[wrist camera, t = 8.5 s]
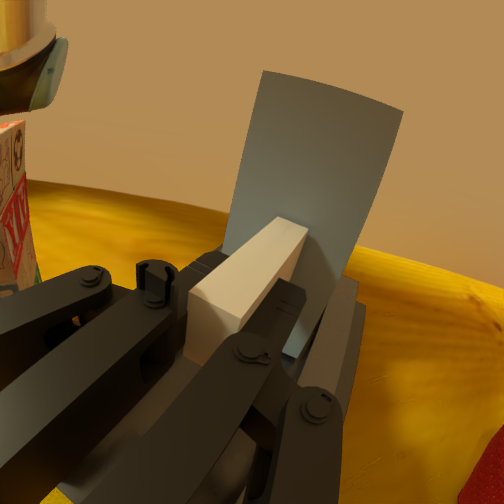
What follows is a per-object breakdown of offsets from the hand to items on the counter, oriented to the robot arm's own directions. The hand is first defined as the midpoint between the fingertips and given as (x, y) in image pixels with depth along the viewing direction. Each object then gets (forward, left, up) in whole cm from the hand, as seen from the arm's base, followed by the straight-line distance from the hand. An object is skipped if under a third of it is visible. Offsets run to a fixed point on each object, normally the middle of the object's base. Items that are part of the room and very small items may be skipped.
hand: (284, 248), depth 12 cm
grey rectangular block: (0, +3, -7) cm, 8 cm away
